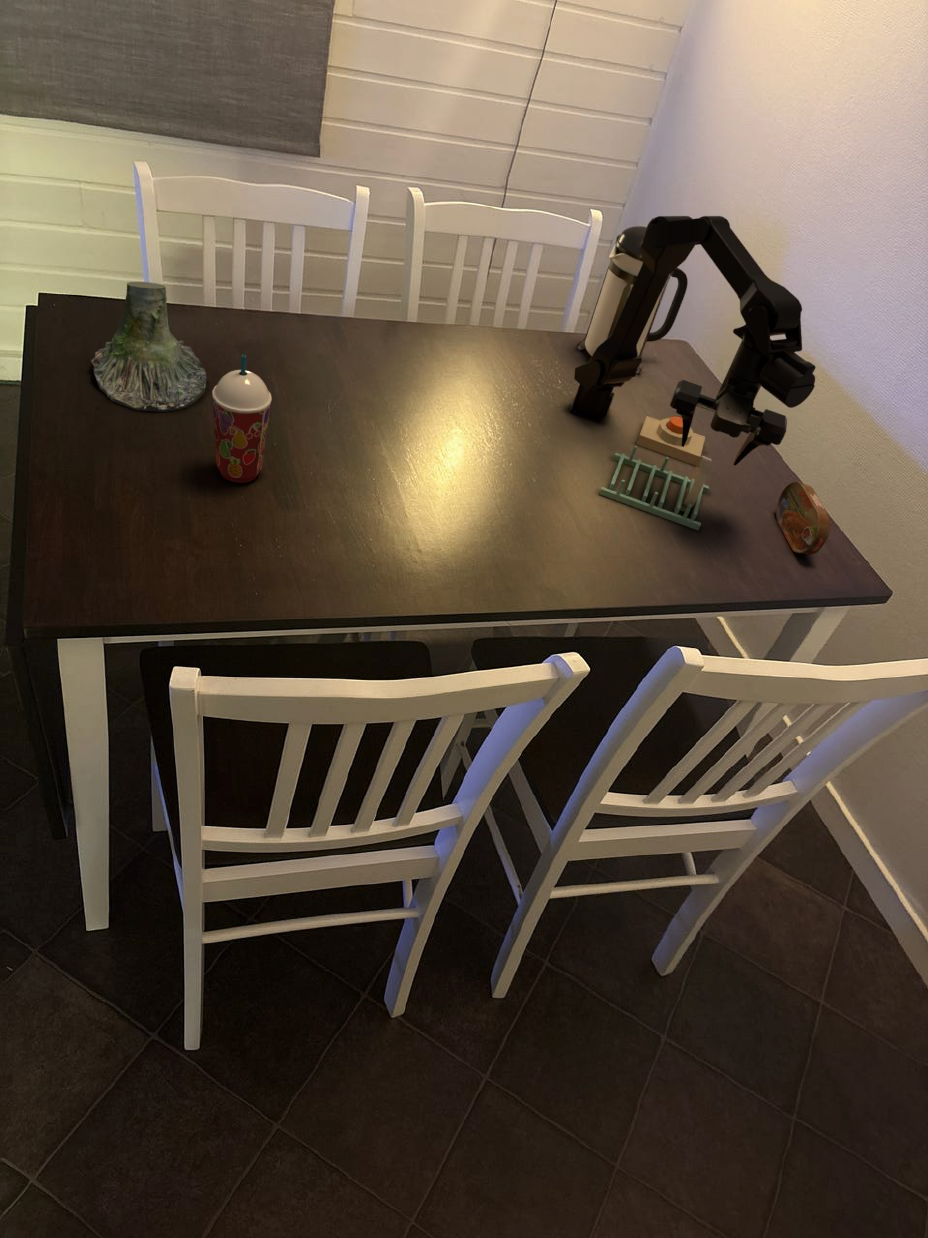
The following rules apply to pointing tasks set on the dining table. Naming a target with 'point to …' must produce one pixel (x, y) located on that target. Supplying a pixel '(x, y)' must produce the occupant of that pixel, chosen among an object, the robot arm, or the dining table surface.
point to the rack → (649, 507)
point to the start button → (675, 425)
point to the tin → (802, 518)
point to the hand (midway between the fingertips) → (708, 454)
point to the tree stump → (148, 357)
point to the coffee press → (618, 288)
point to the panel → (670, 441)
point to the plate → (696, 483)
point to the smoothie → (240, 423)
